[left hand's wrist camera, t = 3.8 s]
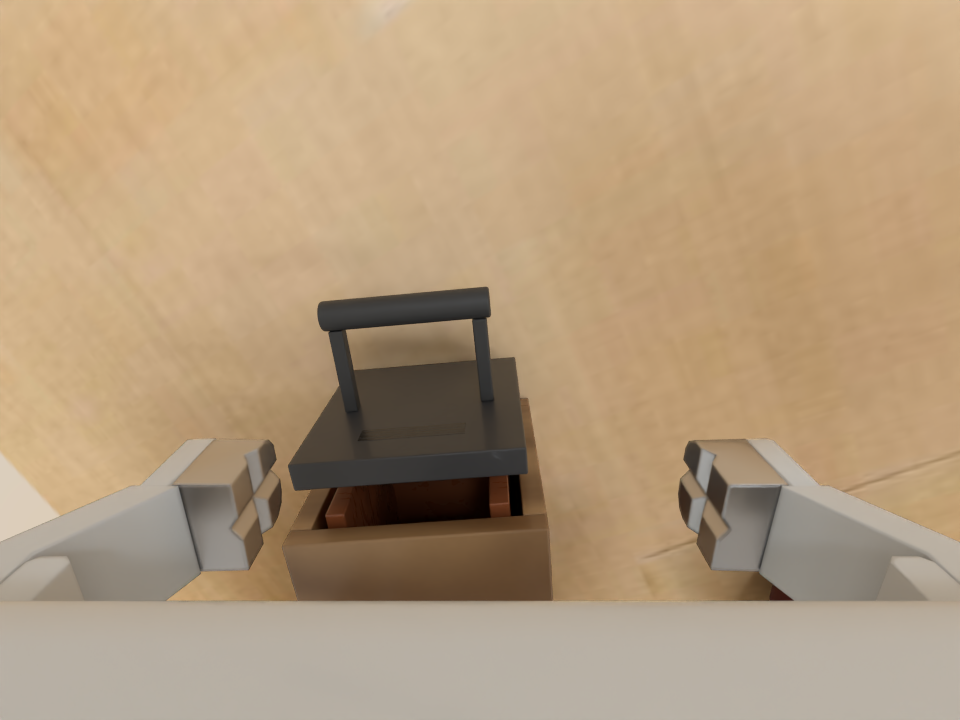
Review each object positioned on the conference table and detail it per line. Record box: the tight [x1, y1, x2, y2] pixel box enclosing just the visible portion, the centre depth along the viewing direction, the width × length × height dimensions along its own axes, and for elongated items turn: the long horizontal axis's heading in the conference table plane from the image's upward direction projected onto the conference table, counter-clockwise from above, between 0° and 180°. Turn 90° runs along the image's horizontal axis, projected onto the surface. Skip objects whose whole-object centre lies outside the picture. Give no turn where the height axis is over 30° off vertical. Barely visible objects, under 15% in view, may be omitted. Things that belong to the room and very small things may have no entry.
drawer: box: [288, 287, 528, 529], centre depth 26 cm, size 20×9×9 cm, turn 6°
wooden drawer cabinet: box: [282, 398, 553, 601], centre depth 28 cm, size 16×10×11 cm, turn 5°
